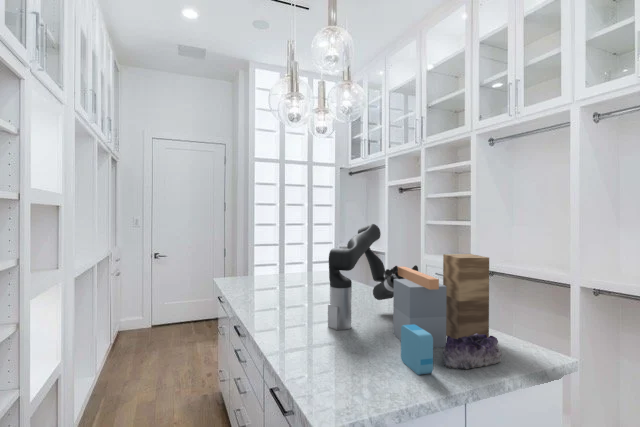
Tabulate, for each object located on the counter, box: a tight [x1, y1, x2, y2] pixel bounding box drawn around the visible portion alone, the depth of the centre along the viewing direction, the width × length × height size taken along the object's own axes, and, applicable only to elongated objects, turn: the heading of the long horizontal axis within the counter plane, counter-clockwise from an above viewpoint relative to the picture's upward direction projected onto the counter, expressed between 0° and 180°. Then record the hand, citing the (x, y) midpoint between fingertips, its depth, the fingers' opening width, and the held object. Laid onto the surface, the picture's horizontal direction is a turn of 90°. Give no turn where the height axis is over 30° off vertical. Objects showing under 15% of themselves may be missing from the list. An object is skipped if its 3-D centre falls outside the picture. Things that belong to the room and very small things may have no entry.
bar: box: [397, 266, 440, 290], centre depth 137 cm, size 30×4×4 cm, turn 9°
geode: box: [442, 333, 502, 371], centre depth 114 cm, size 20×12×10 cm, turn 115°
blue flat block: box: [400, 324, 434, 376], centre depth 110 cm, size 12×4×12 cm, turn 14°
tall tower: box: [442, 253, 490, 339], centre depth 137 cm, size 12×12×32 cm
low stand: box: [392, 279, 447, 349], centre depth 134 cm, size 16×14×22 cm
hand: (406, 267), depth 145 cm, fingers open, 8 cm apart
